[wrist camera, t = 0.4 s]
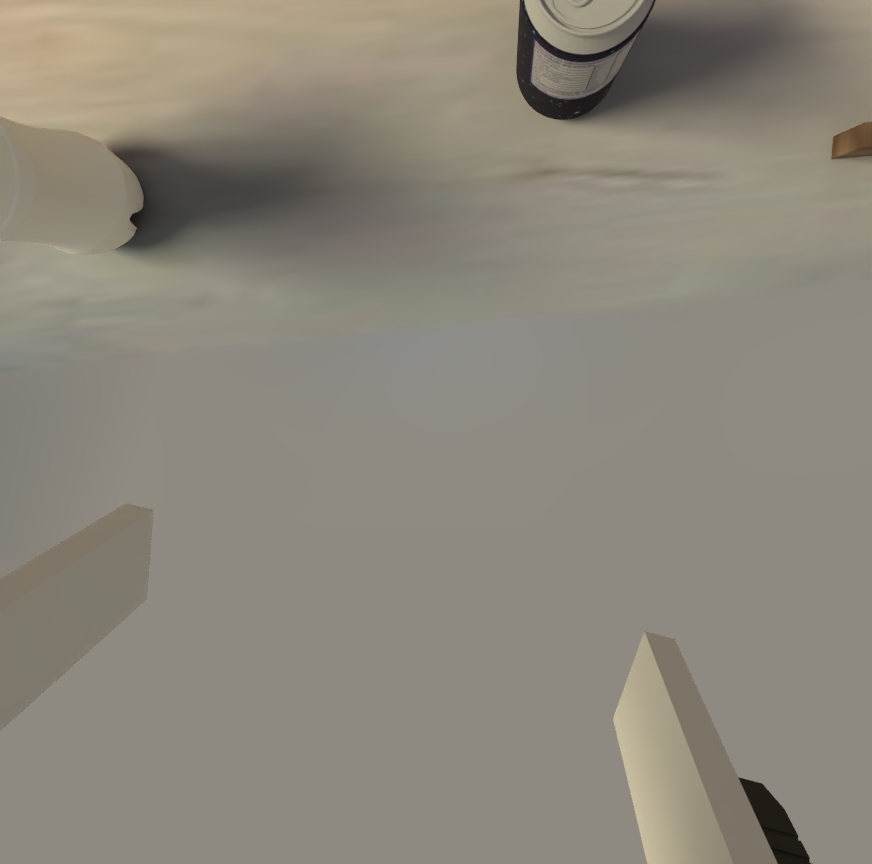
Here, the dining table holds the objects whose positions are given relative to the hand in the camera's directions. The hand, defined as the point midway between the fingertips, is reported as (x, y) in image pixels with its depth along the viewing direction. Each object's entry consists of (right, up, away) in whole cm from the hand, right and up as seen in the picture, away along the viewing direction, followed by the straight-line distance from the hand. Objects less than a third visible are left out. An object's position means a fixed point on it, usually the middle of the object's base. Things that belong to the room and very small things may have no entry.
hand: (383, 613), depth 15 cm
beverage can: (+9, +26, +19) cm, 34 cm away
